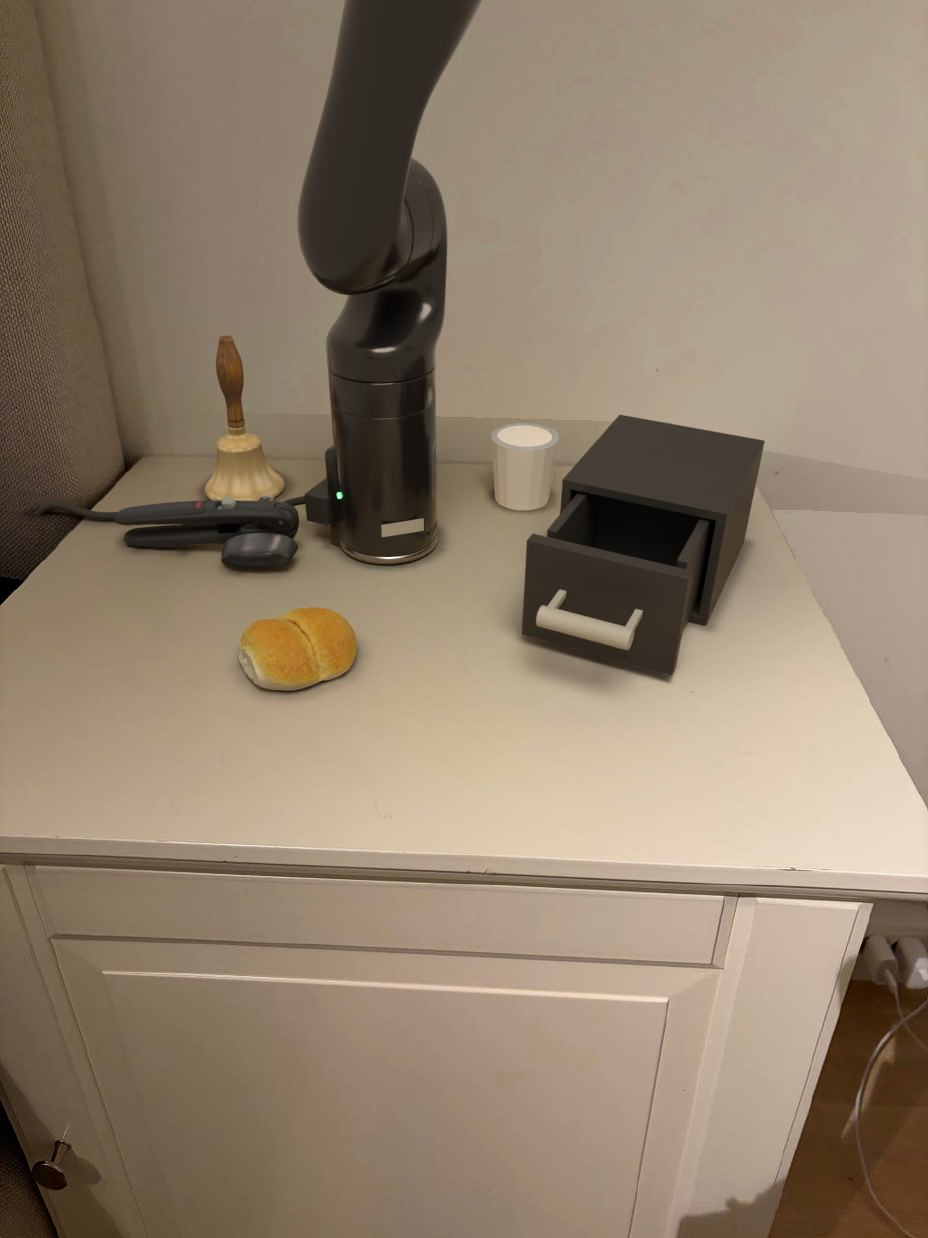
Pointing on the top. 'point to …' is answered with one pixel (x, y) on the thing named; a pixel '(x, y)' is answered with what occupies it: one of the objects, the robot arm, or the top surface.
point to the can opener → (219, 529)
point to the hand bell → (238, 440)
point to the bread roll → (297, 649)
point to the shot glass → (523, 464)
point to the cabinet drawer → (616, 580)
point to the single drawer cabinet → (677, 483)
